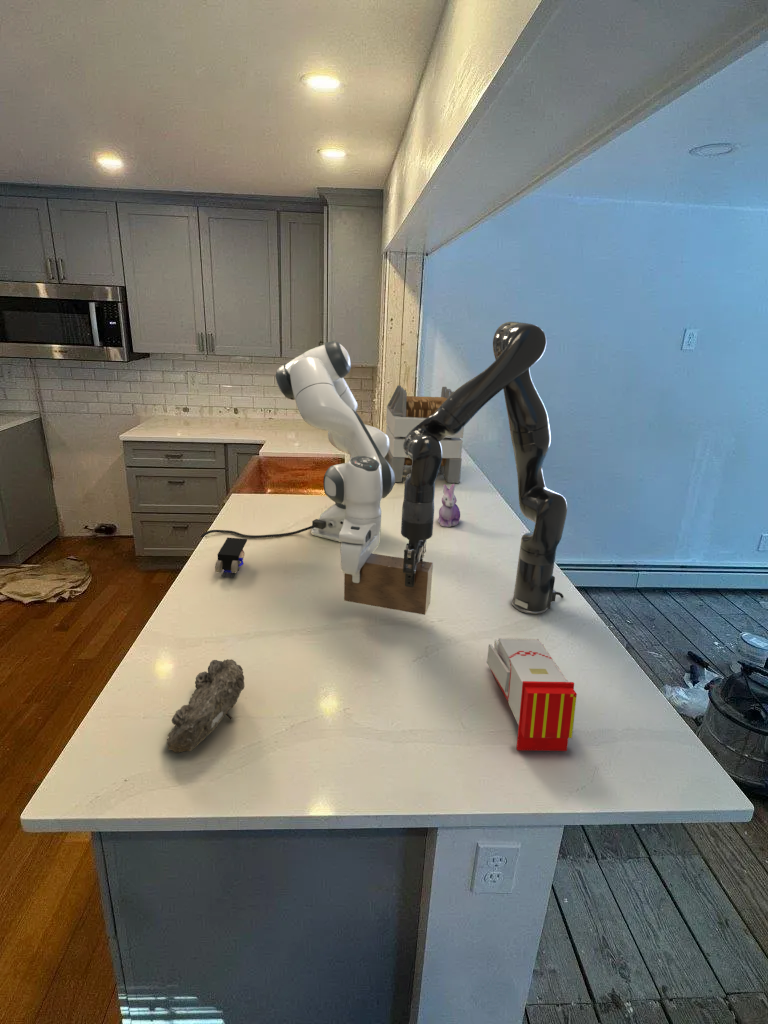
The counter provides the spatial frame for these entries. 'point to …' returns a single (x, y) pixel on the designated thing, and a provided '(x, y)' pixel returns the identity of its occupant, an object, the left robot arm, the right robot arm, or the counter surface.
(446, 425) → the right robot arm
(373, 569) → the box
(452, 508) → the figurine
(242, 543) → the black wheeled rover
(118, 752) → the counter surface
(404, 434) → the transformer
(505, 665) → the toy
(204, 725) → the fossil
